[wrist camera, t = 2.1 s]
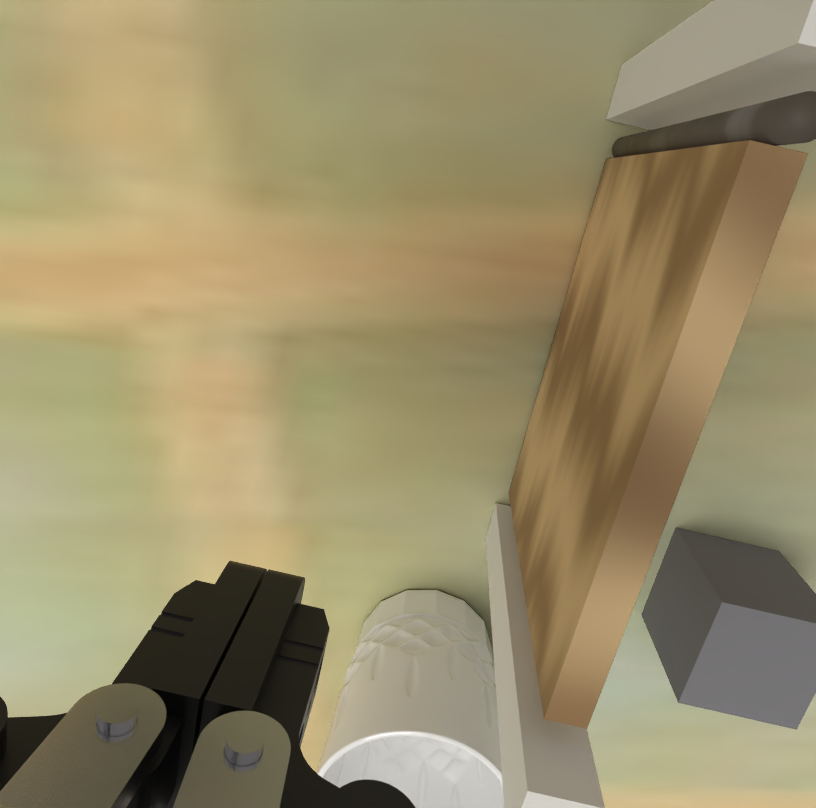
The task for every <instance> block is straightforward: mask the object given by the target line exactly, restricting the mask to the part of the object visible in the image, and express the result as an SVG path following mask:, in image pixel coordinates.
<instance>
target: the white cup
mask: <svg viewBox="0 0 816 808" xmlns="http://www.w3.org/2000/svg"><path fill="white" fill-rule="evenodd" d="M316 773H317V774H318V775H319V776H321V777H322V778H324V779H325V780H327V781H329V782H330V783H332V784H334V785H336V786H337V787H339V788H341V787H342V786H344V785H346V784H348V783H350V782H353V781H356V780H364V779H369V780H377V781H382V782H385V783H388V784H390V785H392V786H394V787H396V788H397V789H398V790H400V791H401V792H403V793H404V794H405V795H406V796H407V797H408V798H409V799H410V801H411V802H412V803H413V805H414V806H415V808H504V796H503V782H502V767H501V753H500V739H499V725H498V711H497V697H496V682H495V668H494V662H493V654H492V647H491V643H490V640H489V636H488V633H487V630H486V626H485V623H484V621H483V620H482V618H481V617H480V616H479V615H478V614H477V613H476V612H475V611H474V610H473V609H472V608H471V607H470V606H469V605H468V604H467V603H466V602H465V601H463V600H461V599H458V598H456V597H453V596H451V595H448V594H446V593H443V592H441V591H438V590H406V591H404V592H402V593H399V594H397V595H395V596H392V597H390V598H388V599H386V600H383V601H381V602H380V603H379V604H378V606H377V607H376V608H375V609H374V610H373V612H372V613H371V614H370V615H369V616H368V618H367V619H366V620H365V621H364V623H363V627H362V630H361V634H360V638H359V641H358V645H357V648H356V652H355V654H354V656H353V658H352V660H351V662H350V665H349V667H348V670H347V673H346V676H345V680H344V683H343V686H342V688H341V691H340V694H339V697H338V701H337V704H336V708H335V711H334V715H333V718H332V721H331V725H330V728H329V732H328V735H327V739H326V742H325V745H324V749H323V752H322V756H321V759H320V762H319V765H318V769H317V772H316Z"/></svg>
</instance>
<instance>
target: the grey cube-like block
mask: <svg viewBox="0 0 816 808" xmlns="http://www.w3.org/2000/svg"><path fill="white" fill-rule="evenodd" d="M642 617H643V619H644V622H645V624H646V626H647V629H648V631H649V634H650V636H651V638H652V641H653V643H654V646H655V648H656V650H657V653H658V655H659V657H660V660H661V662H662V665H663V667H664V669H665V672H666V674H667V677H668V679H669V681H670V684H671V686H672V689H673V691H674V693H675V696H676V698H677V700H678V703H683V704H687V705H691V706H696V707H700V708H704V709H709V710H713V711H718V712H722V713H726V714H731V715H735V716H740V717H744V718H748V719H753V720H757V721H761V722H766V723H770V724H775V725H779V726H783V727H788V728H792V729H797V728H798V726H799V724H800V722H801V720H802V718H803V716H804V714H805V712H806V710H807V708H808V706H809V704H810V702H811V700H812V698H813V696H814V695H815V693H816V594H815V592H814V591H813V590H812V589H811V588H810V587H809V585H808V584H807V583H806V582H805V581H804V580H803V578H802V577H801V576H800V575H799V574H798V573H797V572H796V570H795V569H794V568H793V567H792V566H791V565H790V563H789V562H788V561H787V560H786V559H785V558H784V556H783V555H782V554H781V553H780V552H779V551H776V550H772V549H767V548H763V547H759V546H754V545H750V544H746V543H741V542H737V541H732V540H728V539H724V538H719V537H715V536H711V535H706V534H702V533H697V532H693V531H689V530H684V529H680V528H675V531H674V533H673V536H672V538H671V541H670V543H669V546H668V548H667V551H666V554H665V556H664V559H663V561H662V564H661V566H660V569H659V571H658V574H657V577H656V579H655V582H654V584H653V587H652V589H651V592H650V594H649V597H648V599H647V602H646V605H645V607H644V610H643V612H642Z"/></svg>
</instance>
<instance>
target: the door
mask: <svg viewBox="0 0 816 808" xmlns="http://www.w3.org/2000/svg"><path fill="white" fill-rule="evenodd" d="M814 139H816V92H815V91H806V92H802V93H798V94H794V95H790V96H786V97H782V98H778V99H774V100H770V101H766V102H762V103H758V104H754V105H750V106H746V107H742V108H738V109H734V110H730V111H726V112H722V113H718V114H714V115H710V116H706V117H702V118H698V119H694V120H690V121H686V122H682V123H678V124H674V125H670V126H666V127H662V128H658V129H654V130H650V131H646V132H642V133H638V134H634V135H630V136H626V137H622V138H619V139H618V140H616V141H615V143H614V144H613V147H612V154H613V156H614V158H609V159H606V162H605V166H604V169H603V173H602V176H601V179H600V183H599V186H598V190H597V193H596V196H595V200H594V203H593V207H592V210H591V214H590V217H589V220H588V224H587V227H586V231H585V234H584V237H583V241H582V244H581V248H580V251H579V255H578V258H577V261H576V265H575V268H574V272H573V275H572V278H571V282H570V285H569V289H568V292H567V296H566V299H565V302H564V306H563V309H562V313H561V316H560V319H559V323H558V326H557V330H556V333H555V336H554V340H553V343H552V347H551V350H550V354H549V357H548V360H547V364H546V367H545V371H544V374H543V377H542V381H541V384H540V388H539V391H538V395H537V398H536V401H535V405H534V408H533V412H532V415H531V418H530V422H529V425H528V429H527V432H526V436H525V439H524V442H523V446H522V449H521V453H520V456H519V459H518V463H517V466H516V470H515V473H514V476H513V480H512V483H511V487H510V490H509V498H510V504H511V510H512V517H513V523H514V530H515V536H516V543H517V549H518V556H519V562H520V568H521V575H522V581H523V588H524V594H525V601H526V607H527V614H528V620H529V626H530V633H531V639H532V646H533V652H534V659H535V665H536V672H537V678H538V684H539V691H540V697H541V704H542V710H543V717H544V719H546V720H550V721H555V722H559V723H564V724H568V725H572V726H577V727H581V728H585V729H587V727H588V725H589V722H590V720H591V717H592V714H593V712H594V709H595V707H596V704H597V701H598V699H599V696H600V694H601V691H602V688H603V686H604V683H605V681H606V678H607V675H608V673H609V670H610V668H611V665H612V662H613V660H614V657H615V655H616V652H617V649H618V647H619V644H620V642H621V639H622V636H623V634H624V631H625V629H626V626H627V623H628V621H629V618H630V616H631V613H632V610H633V608H634V605H635V603H636V600H637V597H638V595H639V592H640V590H641V587H642V584H643V582H644V579H645V577H646V574H647V571H648V569H649V566H650V564H651V561H652V558H653V556H654V553H655V551H656V548H657V545H658V543H659V540H660V538H661V535H662V532H663V530H664V527H665V525H666V522H667V519H668V517H669V514H670V512H671V509H672V506H673V504H674V501H675V499H676V496H677V493H678V491H679V488H680V486H681V483H682V480H683V478H684V475H685V473H686V470H687V467H688V465H689V462H690V460H691V457H692V454H693V452H694V449H695V447H696V444H697V441H698V439H699V436H700V433H701V431H702V428H703V426H704V423H705V420H706V418H707V415H708V413H709V410H710V407H711V405H712V402H713V400H714V397H715V394H716V392H717V389H718V387H719V384H720V381H721V379H722V376H723V374H724V371H725V368H726V366H727V363H728V361H729V358H730V355H731V353H732V350H733V348H734V345H735V342H736V340H737V337H738V335H739V332H740V329H741V327H742V324H743V322H744V319H745V316H746V314H747V311H748V309H749V306H750V303H751V301H752V298H753V296H754V293H755V290H756V288H757V285H758V283H759V280H760V277H761V275H762V272H763V270H764V267H765V264H766V262H767V259H768V257H769V254H770V251H771V249H772V246H773V244H774V241H775V238H776V236H777V233H778V231H779V228H780V225H781V223H782V220H783V218H784V215H785V212H786V210H787V207H788V205H789V202H790V199H791V197H792V194H793V192H794V189H795V186H796V184H797V181H798V179H799V176H800V173H801V171H802V168H803V166H804V163H805V160H806V158H807V155H808V153H804V152H800V151H796V150H791V149H787V148H782V147H778V146H777V145H787V144H797V143H806V142H810V141H812V140H814Z"/></svg>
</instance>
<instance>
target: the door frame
mask: <svg viewBox="0 0 816 808" xmlns="http://www.w3.org/2000/svg"><path fill="white" fill-rule="evenodd" d="M806 91H815V92H816V0H713V1H712V2H710V3H709V4H707V5H706V6H705V7H703V8H702V9H700V10H699V11H697V12H696V13H695V14H693V15H692V16H690V17H689V18H687V19H686V20H685V21H683V22H682V23H680V24H679V25H677V26H676V27H675V28H673V29H672V30H670V31H669V32H667V33H666V34H665V35H663V36H662V37H660V38H659V39H657V40H656V41H655V42H653V43H652V44H650V45H649V46H648V47H646V48H645V49H643V50H642V51H640V52H639V53H638V54H636V55H635V56H633V57H632V58H630V59H629V60H628V61H626V62H625V63H623V64H622V65H621V69H620V72H619V76H618V79H617V83H616V86H615V90H614V93H613V97H612V100H611V104H610V107H609V111H608V114H607V118H606V120H609V121H614V122H618V123H622V124H627V125H631V126H636V127H640V128H644V129H649V130H654V129H658V128H662V127H666V126H670V125H674V124H678V123H682V122H686V121H690V120H694V119H698V118H702V117H706V116H710V115H714V114H718V113H722V112H726V111H730V110H734V109H738V108H742V107H746V106H750V105H754V104H758V103H762V102H766V101H770V100H774V99H778V98H782V97H786V96H790V95H794V94H798V93H802V92H806ZM485 541H486V555H487V569H488V583H489V597H490V612H491V626H492V640H493V654H494V668H495V682H496V697H497V711H498V725H499V739H500V753H501V767H502V782H503V796H504V808H605V806H604V802H603V798H602V793H601V789H600V785H599V780H598V776H597V772H596V767H595V763H594V759H593V754H592V750H591V745H590V741H589V737H588V732H587V729H585V728H581V727H577V726H572V725H568V724H564V723H559V722H555V721H550V720H546V719H544V717H543V710H542V704H541V697H540V691H539V684H538V678H537V672H536V665H535V659H534V652H533V646H532V639H531V633H530V626H529V620H528V614H527V607H526V601H525V594H524V588H523V581H522V575H521V568H520V562H519V556H518V549H517V543H516V536H515V530H514V523H513V517H512V510H511V506H507V505H503V504H498V503H496V504H495V507H494V511H493V514H492V518H491V521H490V525H489V528H488V532H487V535H486V539H485Z"/></svg>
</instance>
